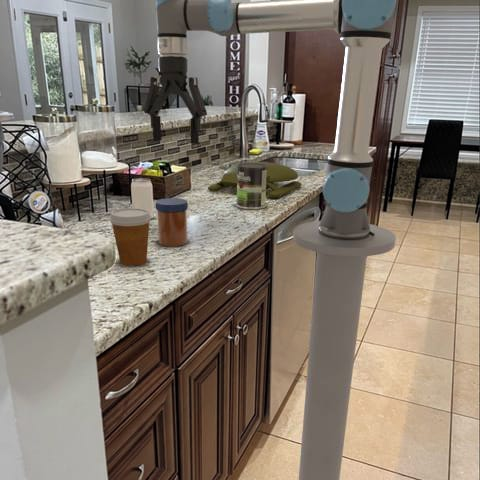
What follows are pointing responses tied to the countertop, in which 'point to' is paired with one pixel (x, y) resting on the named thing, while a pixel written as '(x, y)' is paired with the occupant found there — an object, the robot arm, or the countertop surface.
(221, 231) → the countertop surface
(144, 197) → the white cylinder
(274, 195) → the spaceship
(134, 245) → the disposable coffee cup
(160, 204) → the lid
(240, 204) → the coffee can
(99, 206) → the countertop surface
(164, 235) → the jar
